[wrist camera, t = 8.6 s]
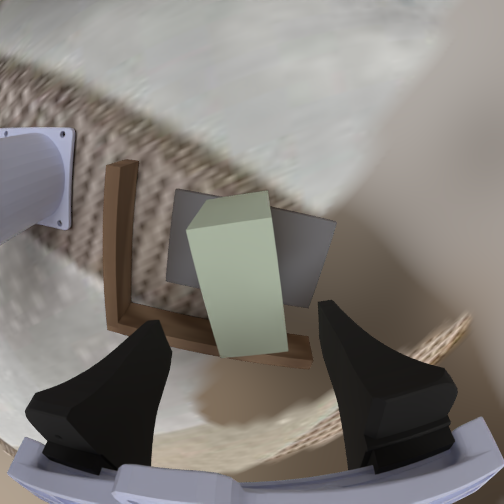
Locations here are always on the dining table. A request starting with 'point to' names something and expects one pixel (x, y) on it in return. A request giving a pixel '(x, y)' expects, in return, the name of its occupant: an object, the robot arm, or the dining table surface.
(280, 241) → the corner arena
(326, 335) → the robot arm
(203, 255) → the sage block
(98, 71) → the dining table surface
